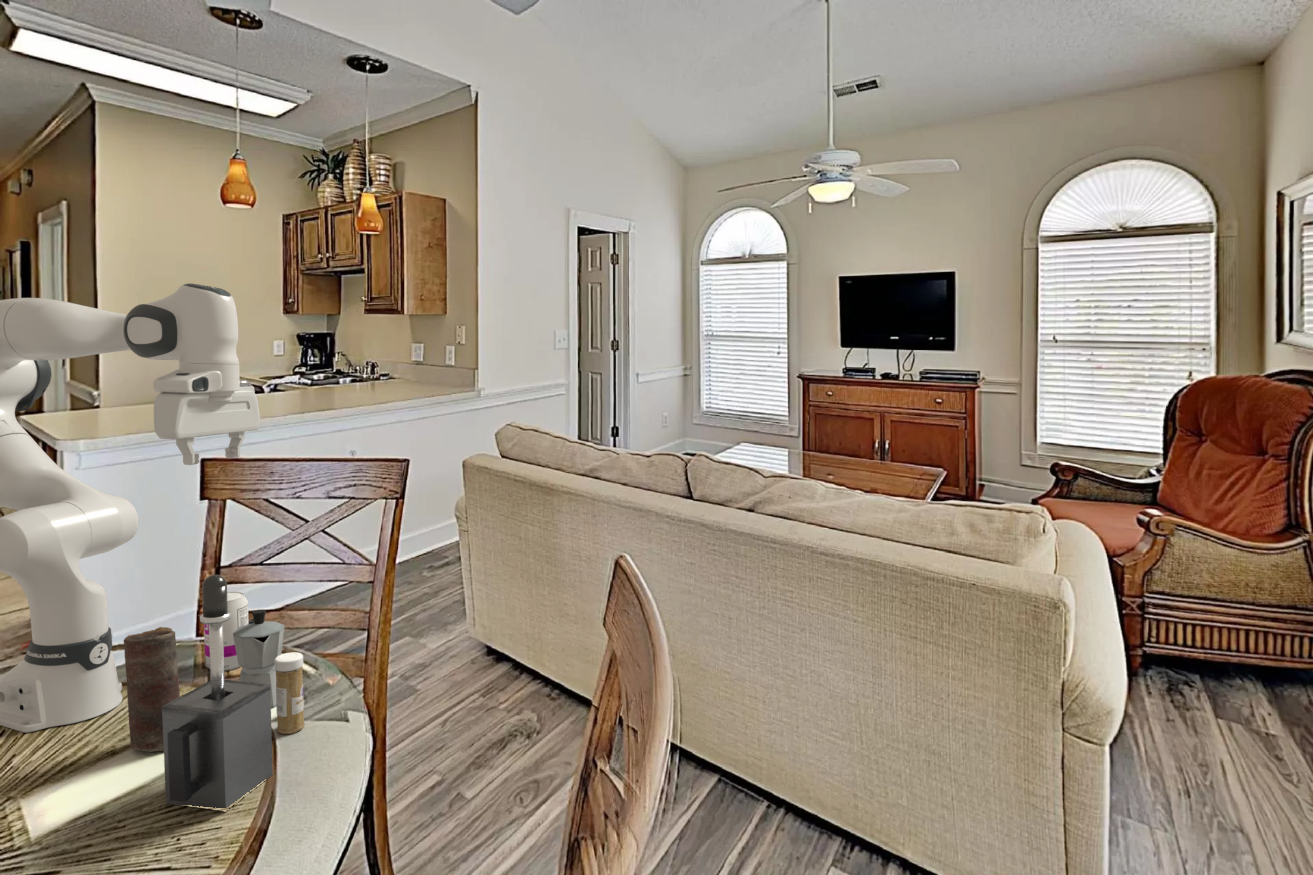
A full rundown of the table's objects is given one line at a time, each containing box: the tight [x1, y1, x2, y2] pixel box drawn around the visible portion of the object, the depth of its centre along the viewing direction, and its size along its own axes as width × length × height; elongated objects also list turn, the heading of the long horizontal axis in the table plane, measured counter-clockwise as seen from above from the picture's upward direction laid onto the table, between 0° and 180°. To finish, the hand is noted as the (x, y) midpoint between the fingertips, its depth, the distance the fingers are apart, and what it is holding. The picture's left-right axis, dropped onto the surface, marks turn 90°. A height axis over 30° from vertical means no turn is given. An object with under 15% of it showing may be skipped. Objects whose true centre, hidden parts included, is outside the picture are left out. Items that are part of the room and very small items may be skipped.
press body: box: [162, 679, 274, 808], centre depth 111 cm, size 10×13×15 cm
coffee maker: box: [233, 609, 286, 709], centre depth 143 cm, size 15×9×18 cm, turn 34°
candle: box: [123, 626, 181, 753], centre depth 125 cm, size 8×7×20 cm
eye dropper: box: [199, 574, 231, 701], centre depth 112 cm, size 8×8×22 cm
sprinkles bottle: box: [275, 651, 306, 735], centre depth 132 cm, size 5×5×13 cm
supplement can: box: [203, 591, 249, 672], centre depth 159 cm, size 8×8×15 cm
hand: (212, 461), depth 128 cm, fingers open, 8 cm apart
